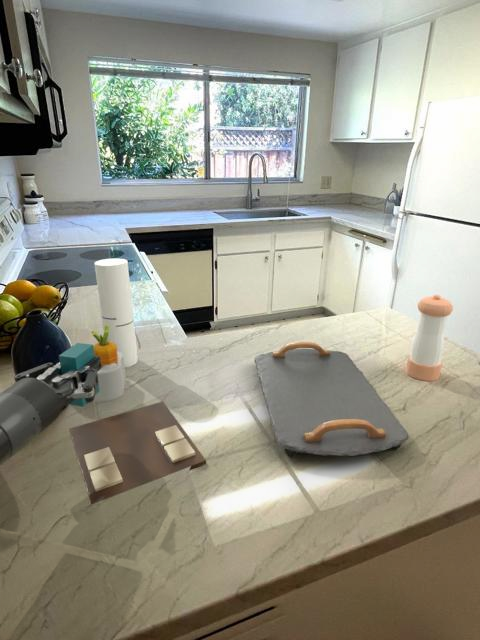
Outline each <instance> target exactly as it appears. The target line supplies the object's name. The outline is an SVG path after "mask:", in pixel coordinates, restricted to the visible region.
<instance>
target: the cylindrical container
mask: <svg viewBox="0 0 480 640" xmlns="http://www.w3.org/2000/svg"><path fill="white" fill-rule="evenodd" d="M93 266H94V270H95V279H96V285H97V292H98V293H97V294H98V300H99V309H100V315H101V324H102V329H103V330H102V331H103V332H104V328H105V325H108V326H109V334H108V340H107V341H109V342H112V343H115V344H116V346H117V352H120V353H122V354H123V359H124V367H125V369H126V368H130V367H132V366H134V365H136V364H137V363H138V361H139V358H138V347H137V339H136V329H135V327H136V326H135V320H134V309H133V300H132V299H133V298H132V290H131V281H130V280H131V279H130V271H129V261H128V260H127V259H126V258H118V257H117V258H116V257H115V258H113V257H112V258H103V259H100V260H97V261H94V265H93Z"/></svg>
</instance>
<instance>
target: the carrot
mask: <svg viewBox="0 0 480 640" xmlns="http://www.w3.org/2000/svg"><path fill="white" fill-rule="evenodd" d="M91 334H92V336H93V338H94V339H96V341H97V342H98V343H95V344H93V346H94V353H95V356H98V357H100V359H101V363H102V367H103V366H104V365H111V364H112V363H116V364H117V361H118V356H117V346H116V344H115V343H112V342H109V341H107V340H108V334H109V326H108V325H105V328H104V331H103V334H98V333H97V332H96V331H94V330H92V331H91Z"/></svg>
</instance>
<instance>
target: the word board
mask: <svg viewBox="0 0 480 640" xmlns="http://www.w3.org/2000/svg"><path fill="white" fill-rule="evenodd" d="M68 431H69V434H70V437H71V441H72V445H73V447H74V451H75V453H76V458H77V461H78V464H79V468H80V471H81V474H82V478H83V481H84V483H85V488H86V491H87V494H88V497H89V501H90V505H94V504H97V503H99V502H102V501H104V500H107V499H109V498H112V497H115V496H117V495H121V494H123V493H125V492H127V491H130V490H133V489H135V488H138V487H141V486H143V485H146V484H148V483H151V482H153V481H156V480H159V479H161V478H164V477H166V476H169V475H171V474H175V473H176V472H179V471H182V470H185V469H188V468H189V467H190V468H189V470H188V471H192V470H194V469H197V468H199V467H202V466H204V465H206V464H207V459H206V457H204V455H203V454H202V452H201V451H200V450H199V448H198V447H197V446H196V444H195V443H194V442H193V440H192V439H191V438H190V436H189V435H188V433H187V432H186V430H185V429H184V428H183V426H182V425H181V424H180V423H179V421H178V420H177V418H176V417H175V415H174V414H173V412H172V411H171V410H170V408H169V407H168V406H167V404H166V403H165V402H164V401H163V400H162V401H159V402H156V403H152V404H149V405H146V406H142V407H139V408H135V409H132V410H128V411H125V412H122V413H118V414H115V415H112V416H108V417H105V418H102V419H98V420H94V421H90V422H88V423H83V424H80V425H76V426H74V427H71V428H68Z"/></svg>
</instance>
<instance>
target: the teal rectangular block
mask: <svg viewBox="0 0 480 640" xmlns="http://www.w3.org/2000/svg"><path fill="white" fill-rule="evenodd" d="M94 357H95V353H94V344H91V343H90V344H89V343H81V342H77V343H75V344H74V345H72V346H71V347H69V348H68V349H67V350H65V351H63V352H61V354H59V355H58V359H59V362H60V366H61V371H62V375H63V374H65V373H67V372H69V371H70V370H78V369H79V368H81V367H82V366H84V365H85V364H86V363H87V362H89V361H90V360H91V359H92V358H94ZM80 378H81V379H82V378H83V376H82V375H81V376H80ZM99 391H100V389H99V384H98V388H97V391H96V394H97V393H98V392H99ZM87 404H88V402H86V401H85V398H77V399H75V400H74V401H73V402H71V403H69V404H68V405H70V406H76V407H83V408H84V407H85V406H86V405H87Z"/></svg>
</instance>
